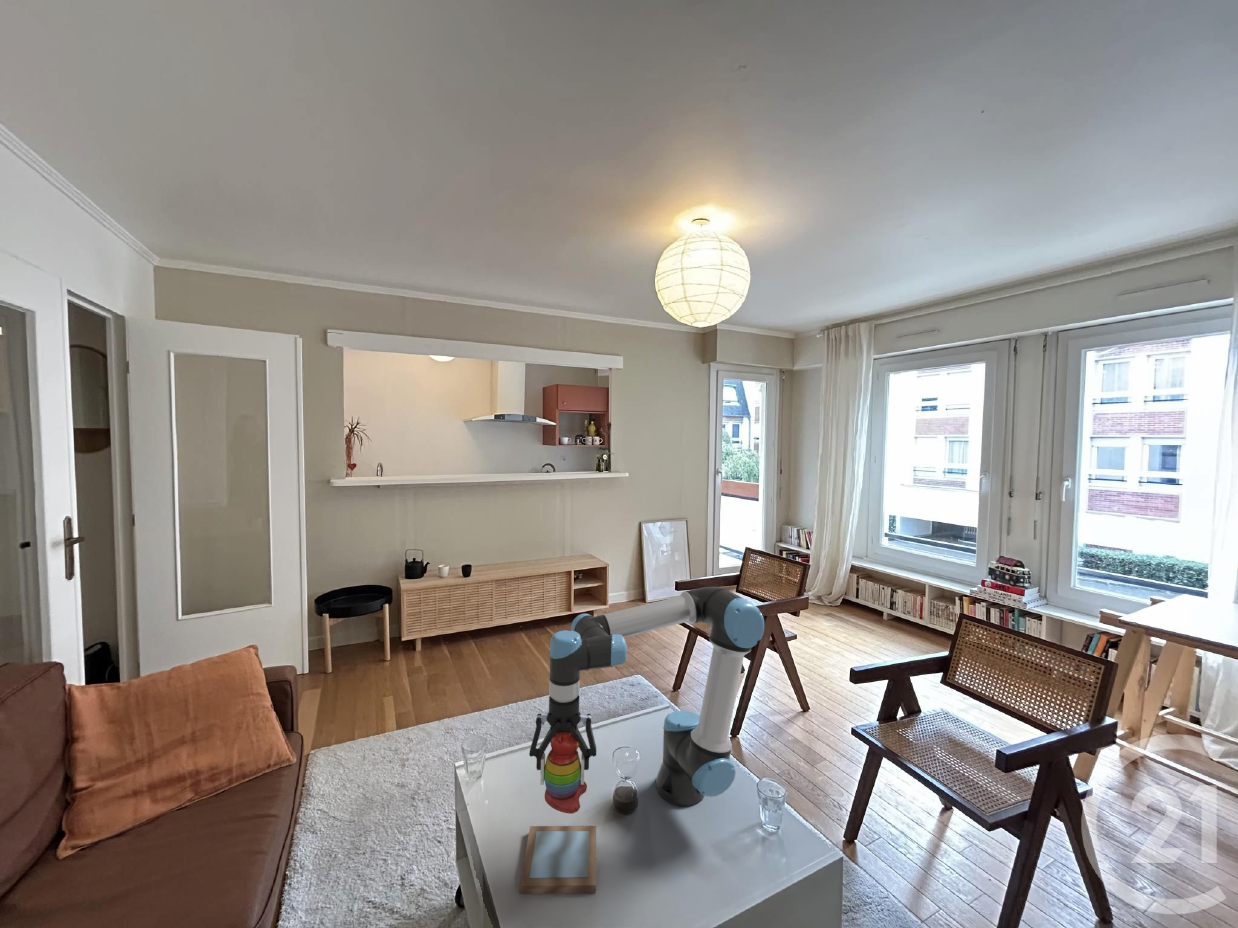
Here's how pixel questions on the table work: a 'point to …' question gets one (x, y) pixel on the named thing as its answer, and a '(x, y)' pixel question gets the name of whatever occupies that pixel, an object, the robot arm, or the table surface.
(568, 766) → the stacking bear
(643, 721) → the table surface
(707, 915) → the table surface
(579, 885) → the base board
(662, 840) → the table surface
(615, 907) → the table surface
